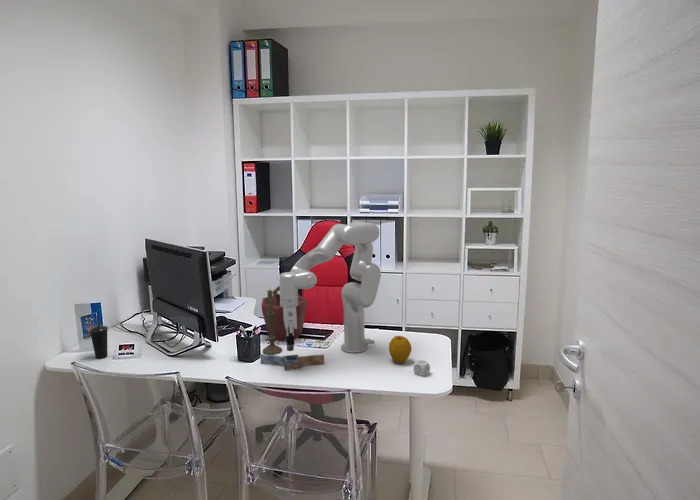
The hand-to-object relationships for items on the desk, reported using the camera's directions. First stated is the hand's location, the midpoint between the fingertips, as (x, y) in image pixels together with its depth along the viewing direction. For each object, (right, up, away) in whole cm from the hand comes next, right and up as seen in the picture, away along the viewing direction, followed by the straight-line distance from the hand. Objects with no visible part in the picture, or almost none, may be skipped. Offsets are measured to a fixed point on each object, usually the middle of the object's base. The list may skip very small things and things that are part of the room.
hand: (290, 342), depth 216 cm
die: (+55, -12, -6) cm, 57 cm away
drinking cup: (-88, -10, +16) cm, 90 cm away
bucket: (-7, -4, +41) cm, 42 cm away
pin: (0, -3, +1) cm, 3 cm away
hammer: (+1, -10, +5) cm, 11 cm away
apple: (+48, -10, +6) cm, 49 cm away
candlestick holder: (-11, -8, +20) cm, 24 cm away
